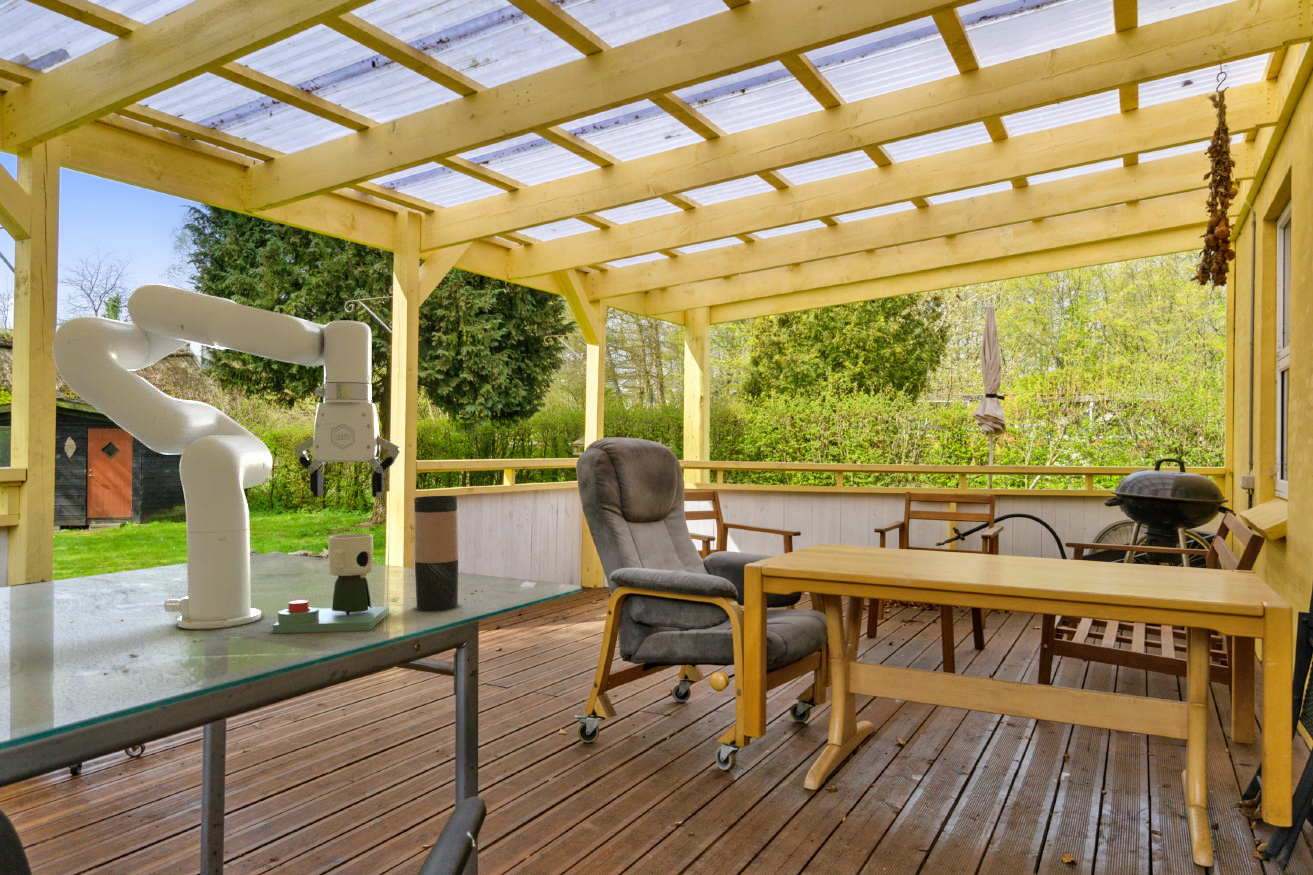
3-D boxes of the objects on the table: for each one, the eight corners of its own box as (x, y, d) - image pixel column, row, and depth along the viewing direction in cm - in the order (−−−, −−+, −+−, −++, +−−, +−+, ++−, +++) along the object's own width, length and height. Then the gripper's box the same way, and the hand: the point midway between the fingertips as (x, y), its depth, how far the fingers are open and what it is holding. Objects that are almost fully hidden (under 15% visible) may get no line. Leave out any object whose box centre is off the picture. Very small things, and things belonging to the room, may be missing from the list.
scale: (272, 633, 136) (272, 614, 136) (300, 616, 149) (300, 599, 149) (369, 630, 137) (369, 611, 137) (389, 614, 150) (388, 597, 150)
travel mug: (464, 603, 158) (463, 495, 158) (450, 612, 151) (449, 498, 151) (424, 603, 159) (423, 495, 159) (408, 612, 152) (407, 498, 152)
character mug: (358, 619, 139) (356, 539, 139) (315, 619, 139) (314, 539, 139) (385, 606, 150) (384, 532, 150) (346, 606, 150) (345, 532, 150)
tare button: (285, 614, 137) (285, 603, 137) (292, 610, 140) (292, 600, 140) (305, 614, 138) (304, 603, 138) (311, 610, 141) (311, 599, 141)
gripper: (287, 393, 140) (286, 498, 140) (394, 394, 141) (394, 498, 141) (302, 395, 148) (302, 495, 148) (404, 396, 149) (404, 495, 149)
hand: (347, 496), depth 145 cm, fingers open, 9 cm apart
